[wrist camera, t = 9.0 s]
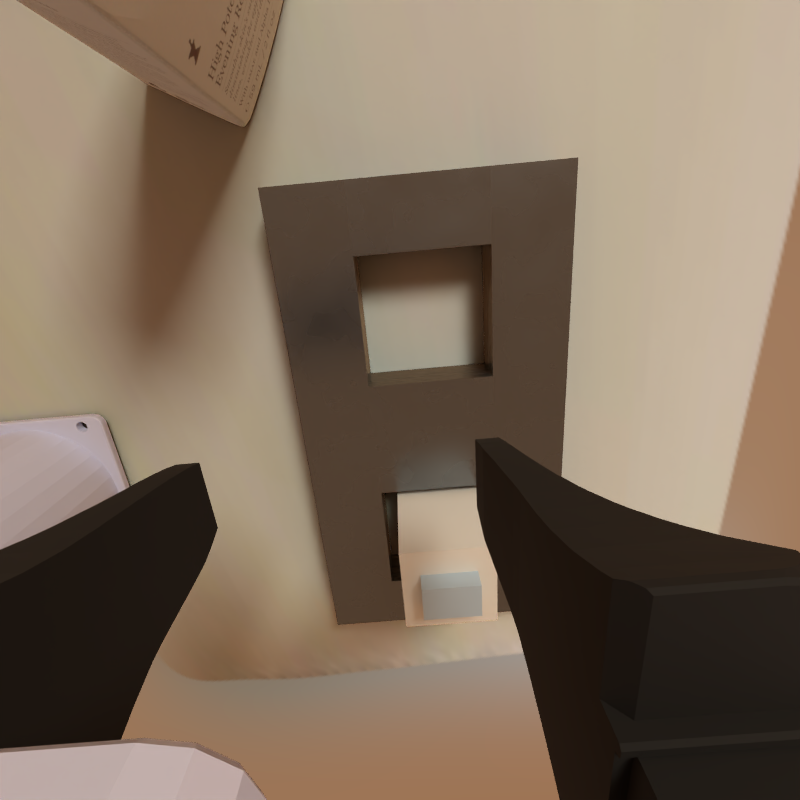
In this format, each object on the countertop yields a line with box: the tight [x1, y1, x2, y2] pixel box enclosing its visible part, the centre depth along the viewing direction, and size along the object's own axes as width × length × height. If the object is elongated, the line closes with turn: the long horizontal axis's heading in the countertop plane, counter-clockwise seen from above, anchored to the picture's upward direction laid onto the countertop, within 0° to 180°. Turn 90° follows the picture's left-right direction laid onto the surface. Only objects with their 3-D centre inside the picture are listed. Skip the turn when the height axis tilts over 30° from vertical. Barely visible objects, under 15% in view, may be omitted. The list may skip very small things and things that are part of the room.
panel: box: [258, 158, 578, 625], centre depth 21 cm, size 12×22×2 cm, turn 5°
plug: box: [397, 485, 497, 627], centre depth 21 cm, size 4×4×7 cm
